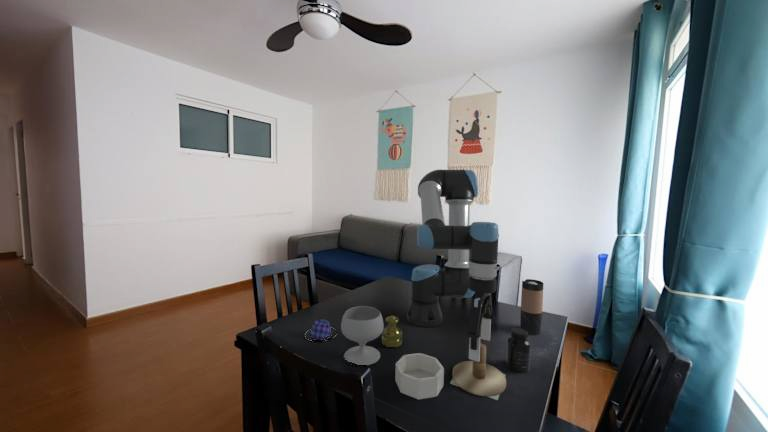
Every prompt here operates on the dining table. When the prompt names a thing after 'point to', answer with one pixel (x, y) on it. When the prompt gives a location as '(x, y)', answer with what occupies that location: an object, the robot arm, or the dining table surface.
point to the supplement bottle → (518, 351)
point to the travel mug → (531, 306)
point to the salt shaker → (392, 333)
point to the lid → (479, 376)
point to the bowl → (419, 376)
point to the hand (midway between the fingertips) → (480, 349)
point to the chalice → (362, 333)
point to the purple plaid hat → (320, 329)
